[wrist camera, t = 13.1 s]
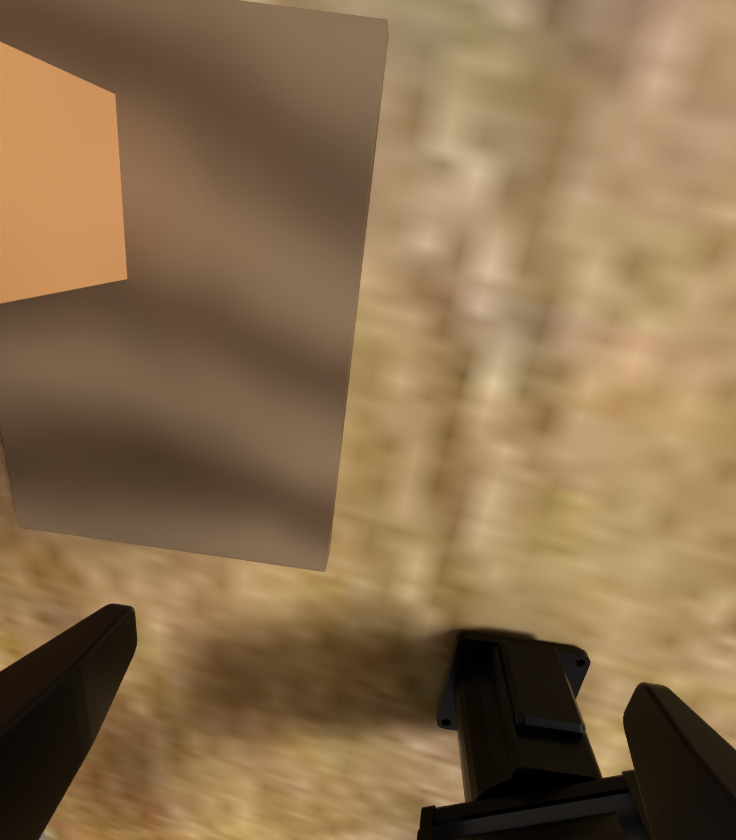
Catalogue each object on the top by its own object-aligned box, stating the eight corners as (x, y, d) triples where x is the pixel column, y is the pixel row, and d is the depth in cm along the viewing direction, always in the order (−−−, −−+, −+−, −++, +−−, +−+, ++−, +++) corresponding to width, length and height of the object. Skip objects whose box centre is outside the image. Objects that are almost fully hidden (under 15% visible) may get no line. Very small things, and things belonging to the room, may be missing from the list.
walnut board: (328, 555, 22) (325, 572, 21) (37, 512, 23) (18, 527, 22) (388, 35, 15) (387, 19, 14) (-52, -22, 15) (-89, -42, 14)
